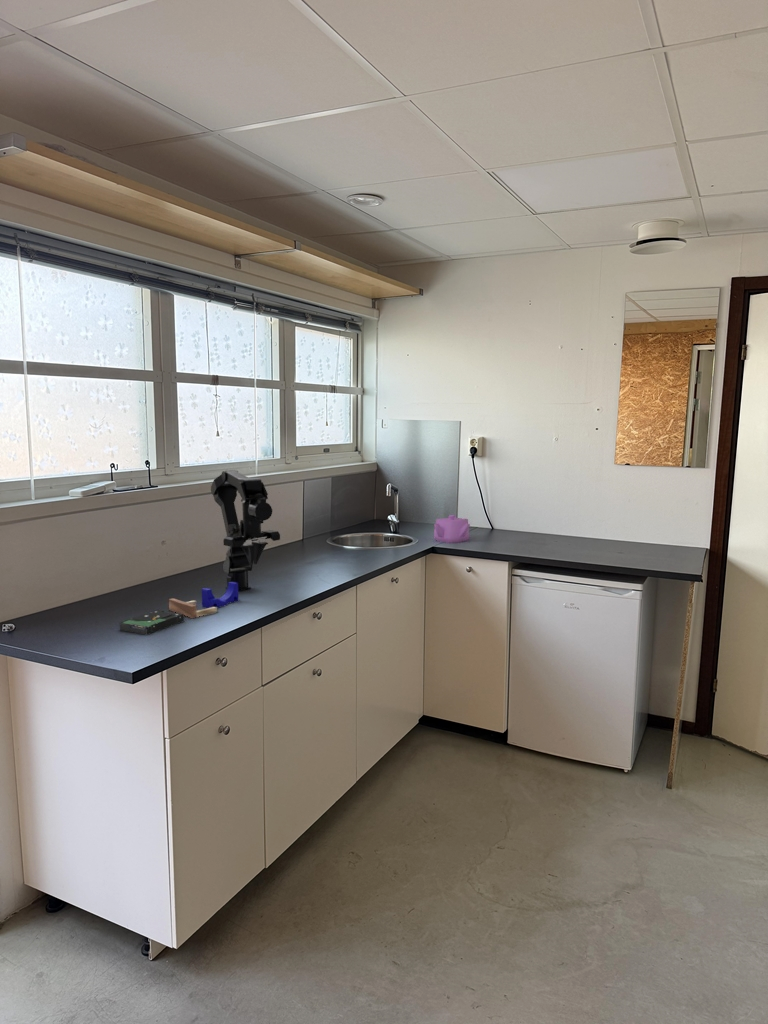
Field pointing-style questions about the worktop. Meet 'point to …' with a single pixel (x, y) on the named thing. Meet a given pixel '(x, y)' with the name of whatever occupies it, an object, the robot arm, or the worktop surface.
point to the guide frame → (189, 608)
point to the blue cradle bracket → (228, 597)
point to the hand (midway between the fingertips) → (253, 564)
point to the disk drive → (151, 622)
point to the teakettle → (451, 529)
